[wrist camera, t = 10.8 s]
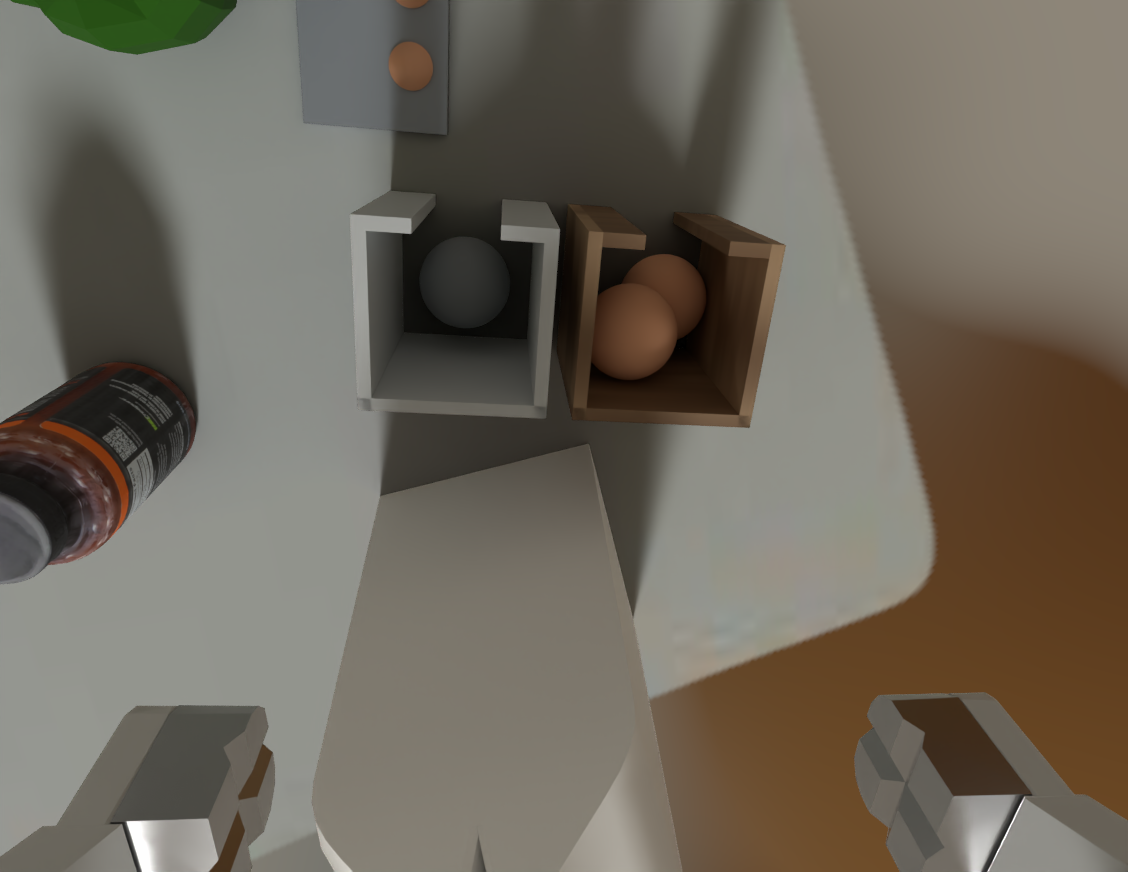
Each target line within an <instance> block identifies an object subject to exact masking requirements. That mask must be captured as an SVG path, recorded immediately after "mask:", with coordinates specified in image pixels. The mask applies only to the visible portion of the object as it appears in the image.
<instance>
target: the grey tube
mask: <svg viewBox="0 0 1128 872" xmlns="http://www.w3.org/2000/svg"><path fill="white" fill-rule="evenodd" d="M435 206H436V194H428V193H415V192H402V191H389V192H387V193H386V194H384V195H382V196H380V197H379V198H377V199H375V200H373V201H372V202H370V203H368V204H367V205H365V206H363V207H361V208H360V209H358V210H356V211H354V212H353V213H351V214H350V229H351V253H352V278H353V302H354V327H355V351H356V376H357V400H358V410H361V411H384V412H406V413H429V414H452V415H474V416H497V417H520V418H542V419H546V413H547V400H548V386H549V373H550V359H551V345H552V332H553V318H554V305H555V291H556V278H557V264H558V251H559V237H560V228H559V226H558V224H557V222H556V220H555V218H554V216H553V214H552V212H551V211H550V209H549V207H548V205H547V203H546V202H535V201H522V200H508V199H502V221H501V240H507V241H521V242H533V250H532V267H531V284H530V300H529V317H528V334H527V339H512V338H493V337H475V336H457V335H439V334H421V333H404V331H403V250H402V233H405V234H412V233H413V231H414V230H415V229H416V228H417V227H418V226H419V224H420V223H421V222H422V221H423V220H424V219H425V217H426V216H427V215H428V214H429V213H430V212H431V210H432V209H433V208H434V207H435Z"/></svg>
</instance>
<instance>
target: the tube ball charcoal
mask: <svg viewBox="0 0 1128 872" xmlns="http://www.w3.org/2000/svg"><path fill="white" fill-rule="evenodd" d="M419 282H420V290H421V294H422V297H423V300H424V302H425V304H426V306H427V307H428V309H429V310H430V311H431V312H432V314H433V315H434V316H436V317H437V318H438V319H439V320H441V321H442V322H444V323H446V324H448V325H451V326H454V327H458V328H474V327H478V326H481V325H484V324H486V323H488V322H489V321H491V320H492V319H494V318H495V317H496V316H497V315H498V314H499V313H500V312H501V310H502V309H503V307H504V305H505V304H506V301H507V299H508V295H509V290H510V277H509V272H508V269H507V266H506V264H505V262H504V260H503V258H502V257H501V255H500V254H499V253H498V252H497V251H496V250H495V249H494V248H493V247H492V246H491V245H489V244H488V243H486V242H484V241H482V240H480V239H477V238H473V237H454V238H450V239H448V240H445V241H443V242H441V243H440V244H438V245H437V246H436V247H434V248H433V249H432V250H431V251H430V253H429V254H428V255H427V257H426V258H425V260H424V262H423V265H422V268H421V272H420V280H419Z"/></svg>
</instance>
